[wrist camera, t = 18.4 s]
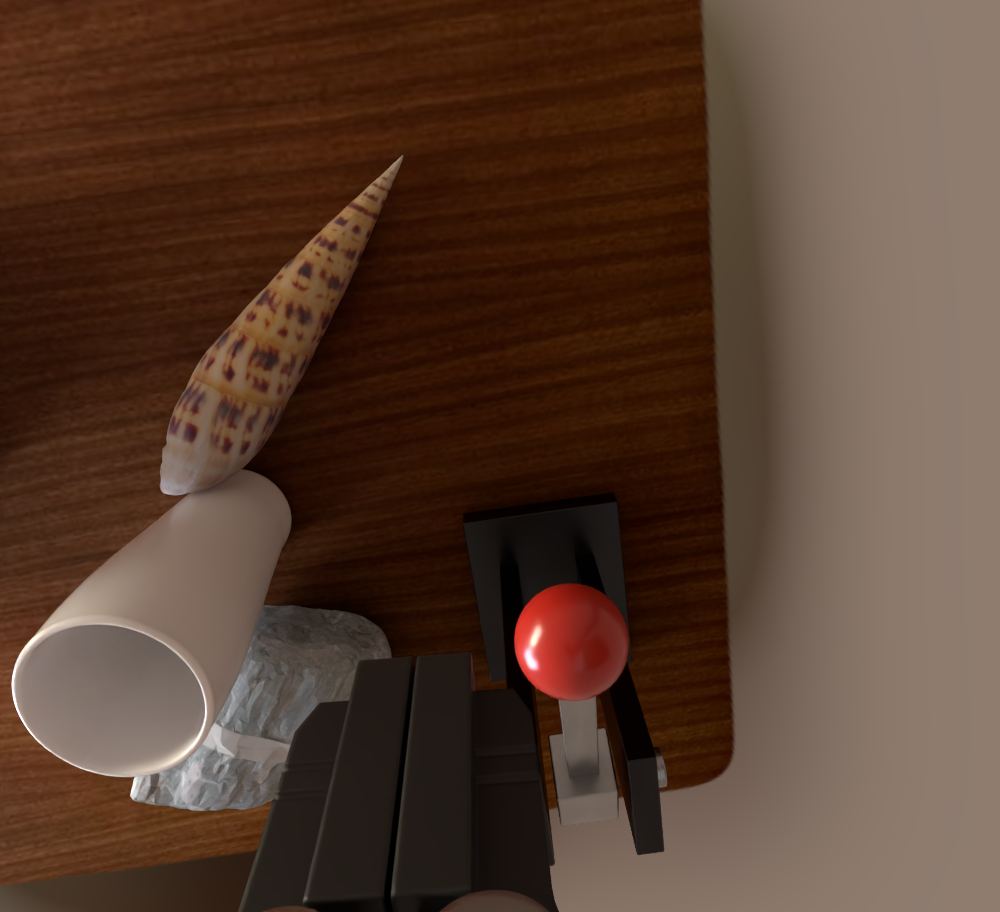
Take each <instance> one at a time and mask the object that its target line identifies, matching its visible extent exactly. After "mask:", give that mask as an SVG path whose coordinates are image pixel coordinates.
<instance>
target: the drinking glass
mask: <svg viewBox="0 0 1000 912" xmlns="http://www.w3.org/2000/svg"><path fill="white" fill-rule="evenodd" d="M291 523H292V518H291V511H290V507H289V504H288V502H287V500H286V498H285V496H284V494H283V493H282V492H281V490H280V489H279V488H278V487H277V486H276V485H275V484H274V483H273V482H272V481H270V480H269V479H267V478H266V477H264V476H262V475H260V474H258V473H256V472H253V471H249V470H244V469H241V470H240V471H239V472H237V473H236V474H235V475H233V476H232V477H230V478H229V479H227V480H225V481H224V482H222V483H220V484H218V485H216V486H214V487H211V488H209V489H206V490H202V491H198V492H192V493H188V494H187V495H186V496H185V497H184V498H183V499H181V500H180V501H179V502H178V503H177V504H175V505H174V506H173V507H172V508H171V509H169V510H168V511H167V512H166V513H165V514H163V515H162V516H161V517H160V518H159V519H157V520H156V521H155V522H154V523H152V524H151V525H150V526H149V527H148V528H146V529H145V530H144V531H143V532H141V533H140V534H139V535H138V536H136V537H135V538H134V539H133V540H131V541H130V542H129V543H128V544H127V545H125V546H124V547H123V548H122V549H120V550H119V551H118V552H117V553H115V554H114V555H113V556H112V557H111V558H109V559H108V560H107V561H106V562H105V563H103V564H102V565H101V566H100V567H99V568H98V569H96V570H95V571H94V572H93V573H92V574H91V575H90V576H89V577H87V578H86V579H85V580H84V581H83V582H82V583H81V584H80V585H79V586H78V587H77V588H76V589H75V590H74V591H73V592H72V593H71V594H70V595H69V596H68V597H67V598H66V599H65V600H64V601H63V603H62V604H61V605H60V606H59V607H58V608H57V609H56V610H55V611H54V613H53V614H52V615H51V616H50V617H49V618H48V619H47V621H46V622H45V623H44V624H43V625H42V627H41V628H40V629H39V630H38V631H37V633H36V634H35V635H34V636H33V638H32V639H31V640H30V641H29V642H28V643H27V644H26V646H25V647H24V648H23V650H22V651H21V653H20V655H19V657H18V659H17V661H16V664H15V667H14V671H13V675H12V694H13V699H14V703H15V706H16V709H17V712H18V714H19V716H20V718H21V720H22V722H23V723H24V725H25V726H26V728H27V729H28V731H29V732H30V733H31V734H32V735H33V737H34V738H35V739H36V740H37V741H38V742H39V743H40V744H41V745H42V746H44V747H45V748H46V749H47V750H49V751H50V752H51V753H53V754H54V755H55V756H57V757H59V758H60V759H62V760H64V761H66V762H68V763H70V764H72V765H74V766H76V767H78V768H81V769H84V770H87V771H90V772H94V773H97V774H102V775H107V776H116V777H138V776H146V775H152V774H156V773H159V772H163V771H165V770H168V769H171V768H173V767H175V766H177V765H179V764H180V763H182V762H183V761H185V760H186V759H188V758H189V757H190V756H192V755H193V754H194V753H195V752H196V751H197V750H198V749H199V747H200V746H201V745H202V744H203V742H204V741H205V739H206V738H207V736H208V734H209V732H210V730H211V728H212V726H213V725H214V723H215V721H216V719H217V718H218V716H219V714H220V712H221V710H222V709H223V707H224V705H225V703H226V701H227V699H228V697H229V695H230V693H231V691H232V689H233V687H234V685H235V683H236V680H237V678H238V676H239V674H240V671H241V669H242V667H243V664H244V662H245V659H246V656H247V654H248V651H249V648H250V645H251V642H252V639H253V636H254V633H255V630H256V627H257V624H258V621H259V617H260V614H261V611H262V608H263V605H264V602H265V599H266V596H267V592H268V589H269V586H270V583H271V580H272V577H273V574H274V571H275V568H276V565H277V562H278V559H279V556H280V554H281V551H282V549H283V547H284V545H285V543H286V541H287V539H288V537H289V534H290V530H291Z"/></svg>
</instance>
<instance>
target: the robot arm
mask: <svg viewBox="0 0 1000 912" xmlns="http://www.w3.org/2000/svg"><path fill="white" fill-rule="evenodd" d="M284 766H285V769H284V772H282V774H281V777H280V780H279V784H278V787H277V790H276V799H275V800H273V803H272V806H271V809H270V812H269V815H268V819H267V822H266V825H265V828H264V831H263V834H262V838H261V841H260V844H259V847H258V850H257V853H256V857H255V860H254V863H253V866H252V869H251V873H250V876H249V879H248V883H247V885H246V888H245V892H244V895H243V898H242V901H241V904H240V907H239V911H238V912H559V911H558V908H557V906H556V903H555V900H554V896H553V891H552V885H551V875H550V866H549V858H548V849H547V840H546V831H545V823H544V814H543V805H542V797H541V788H540V780H539V770H538V762H537V753H536V744H535V735H534V727H533V718H532V713H531V712H530V711H529V709H528V708H527V706H526V705H525V704H524V702H523V701H522V700H521V698H520V697H519V696H518V694H517V693H516V692H515V690H514V689H513V688H509V689H496V690H483V691H476V689H475V678H474V667H473V658H472V652H466V653H453V654H440V655H426V656H418V657H417V662H416V659H415V657H414V656H410V657H397V658H384V659H370V660H360V661H359V662H358V665H357V668H356V673H355V677H354V681H353V686H352V690H351V694H350V699H349V700H348V701H335V702H322V703H319V704H318V705H317V706H316V707H315V709H314V710H313V711H312V712H311V713H310V715H309V716H308V717H307V718H306V719H305V720H304V722H303V723H302V724H301V725H300V726H299V727H298V729H297V730H296V731H295V733H294V736H293V739H292V742H291V745H290V749H289V752H288V755H287V758H286V761H285V765H284Z"/></svg>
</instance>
